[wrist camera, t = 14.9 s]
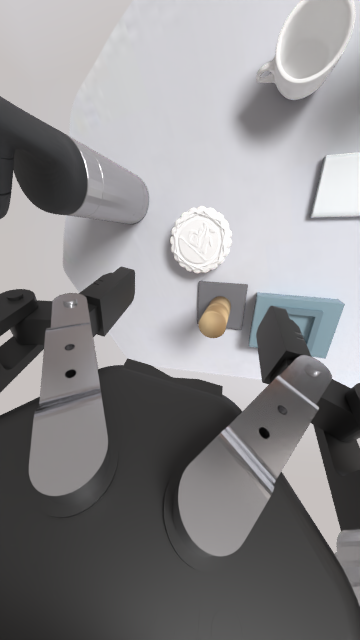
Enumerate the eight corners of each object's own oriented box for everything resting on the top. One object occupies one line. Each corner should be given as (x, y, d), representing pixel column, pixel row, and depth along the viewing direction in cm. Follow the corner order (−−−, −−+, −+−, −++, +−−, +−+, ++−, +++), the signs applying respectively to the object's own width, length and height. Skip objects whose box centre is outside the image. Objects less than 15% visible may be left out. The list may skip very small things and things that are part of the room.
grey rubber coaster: (197, 322, 46) (197, 323, 46) (199, 281, 42) (199, 281, 42) (241, 328, 44) (241, 329, 43) (247, 284, 40) (247, 285, 39)
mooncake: (246, 236, 37) (245, 236, 34) (204, 283, 43) (201, 286, 39) (199, 193, 37) (194, 189, 34) (164, 246, 42) (157, 246, 39)
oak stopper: (209, 314, 44) (198, 335, 34) (210, 295, 42) (199, 311, 33) (229, 317, 43) (224, 339, 33) (232, 297, 41) (227, 314, 31)
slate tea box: (249, 340, 44) (249, 348, 40) (256, 292, 40) (257, 297, 36) (320, 350, 40) (327, 361, 36) (337, 299, 36) (347, 305, 32)
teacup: (337, 16, 25) (359, -37, 20) (333, 95, 27) (351, 64, 22) (253, 59, 28) (255, 22, 23) (257, 125, 31) (258, 104, 26)
